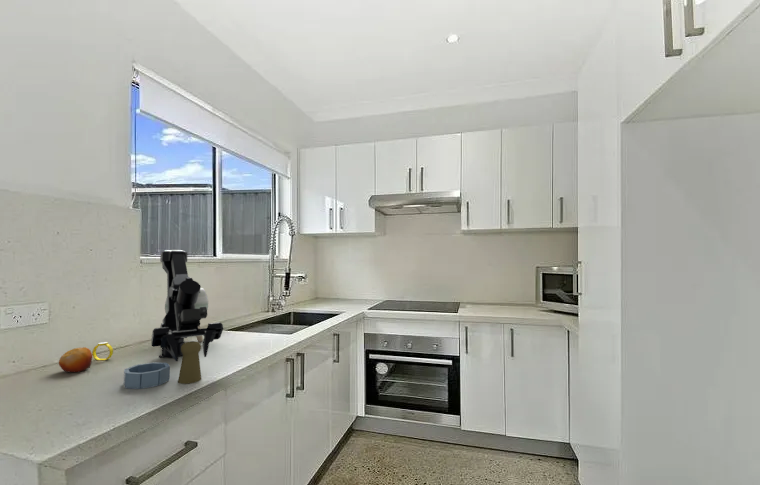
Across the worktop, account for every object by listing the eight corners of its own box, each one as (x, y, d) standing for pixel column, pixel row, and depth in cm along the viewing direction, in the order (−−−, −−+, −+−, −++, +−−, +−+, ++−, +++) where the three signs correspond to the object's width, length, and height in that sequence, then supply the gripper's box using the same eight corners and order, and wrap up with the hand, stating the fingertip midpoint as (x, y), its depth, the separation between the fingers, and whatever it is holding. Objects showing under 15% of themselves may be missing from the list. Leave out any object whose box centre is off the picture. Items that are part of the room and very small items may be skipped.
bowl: (114, 387, 98) (114, 372, 98) (143, 375, 108) (143, 361, 109) (150, 389, 97) (151, 374, 97) (176, 376, 108) (176, 363, 108)
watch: (90, 362, 123) (90, 344, 123) (96, 359, 125) (96, 342, 126) (109, 360, 123) (108, 343, 123) (114, 358, 126) (114, 341, 126)
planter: (174, 338, 158) (176, 287, 159) (212, 338, 160) (214, 287, 161) (155, 347, 142) (157, 290, 143) (197, 347, 144) (199, 290, 145)
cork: (191, 384, 101) (192, 344, 102) (172, 382, 102) (174, 343, 103) (205, 377, 107) (207, 340, 108) (188, 376, 108) (189, 339, 109)
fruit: (104, 362, 116) (91, 343, 113) (80, 381, 110) (66, 362, 106) (87, 359, 119) (74, 341, 116) (63, 378, 112) (48, 359, 109)
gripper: (154, 300, 103) (157, 346, 94) (222, 296, 115) (231, 337, 105) (149, 323, 109) (152, 369, 100) (215, 318, 121) (223, 359, 111)
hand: (191, 358), depth 104 cm, fingers open, 7 cm apart
